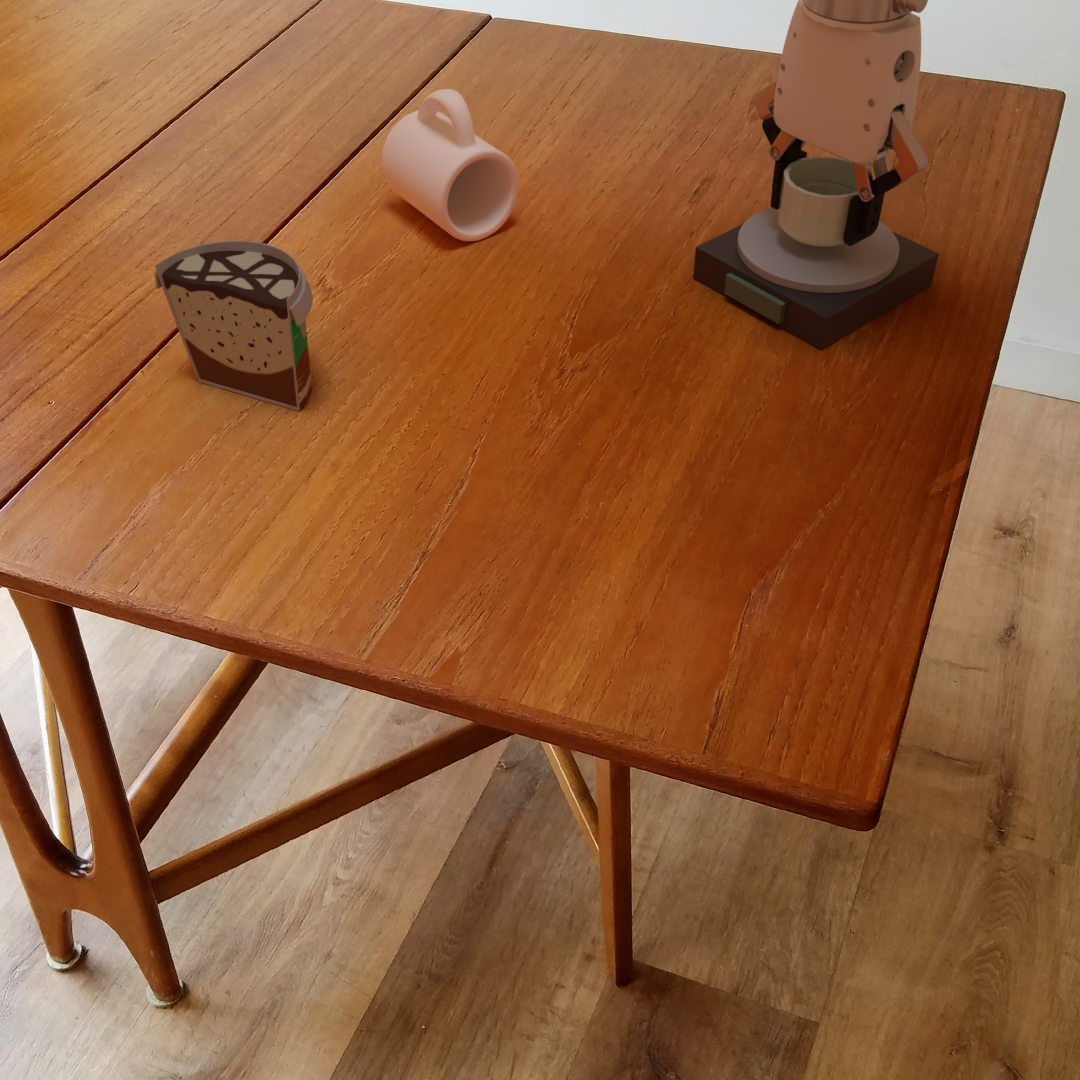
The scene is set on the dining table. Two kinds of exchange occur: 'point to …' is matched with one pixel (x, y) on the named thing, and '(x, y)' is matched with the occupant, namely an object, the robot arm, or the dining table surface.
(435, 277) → the dining table surface
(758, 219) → the scale
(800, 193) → the bowl
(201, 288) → the food container
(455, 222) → the mug
